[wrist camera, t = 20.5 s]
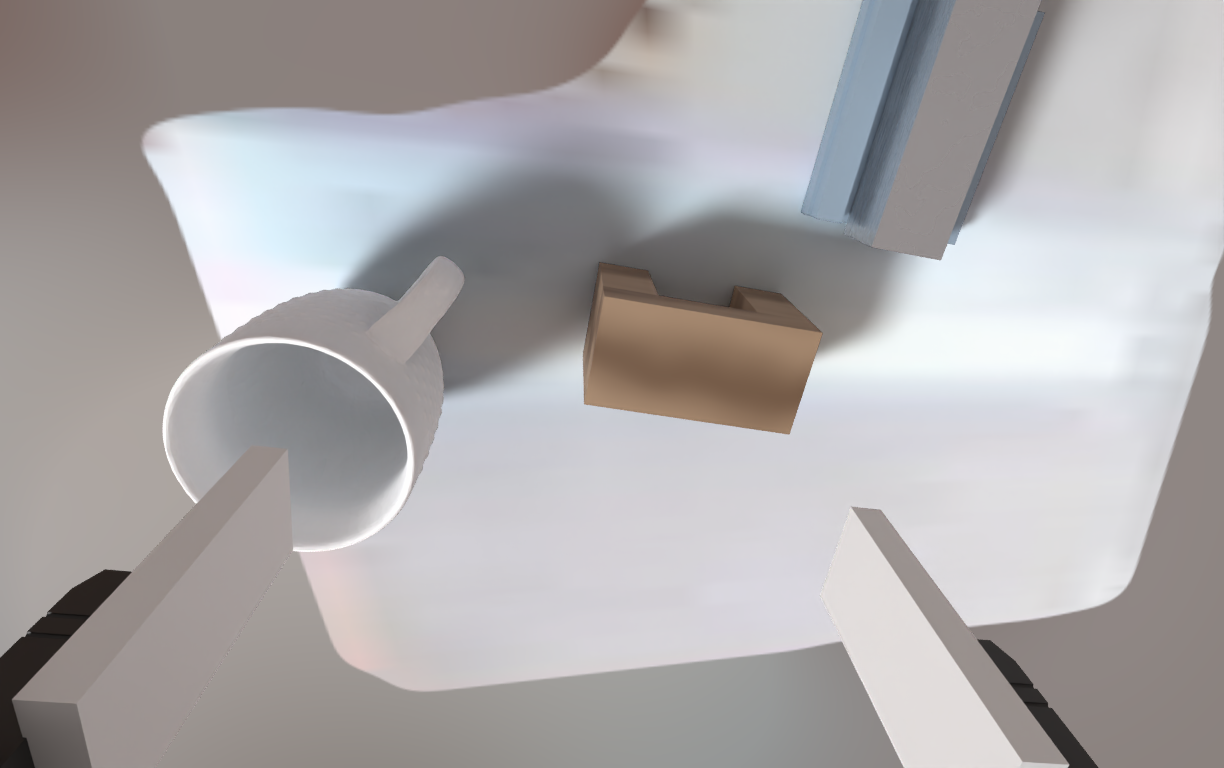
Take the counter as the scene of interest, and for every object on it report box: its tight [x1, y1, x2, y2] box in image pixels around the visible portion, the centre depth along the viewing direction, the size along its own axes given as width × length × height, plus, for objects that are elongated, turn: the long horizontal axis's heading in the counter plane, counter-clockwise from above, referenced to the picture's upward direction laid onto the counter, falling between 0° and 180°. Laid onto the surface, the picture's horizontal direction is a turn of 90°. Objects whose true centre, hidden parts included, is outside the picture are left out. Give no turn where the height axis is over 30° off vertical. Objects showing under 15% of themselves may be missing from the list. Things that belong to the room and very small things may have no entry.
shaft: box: [843, 0, 1041, 260], centre depth 34 cm, size 15×4×4 cm, turn 169°
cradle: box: [801, 0, 1045, 245], centre depth 36 cm, size 12×9×2 cm
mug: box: [163, 256, 465, 552], centre depth 34 cm, size 15×11×13 cm
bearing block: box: [583, 262, 823, 434], centre depth 38 cm, size 6×12×8 cm, turn 79°
